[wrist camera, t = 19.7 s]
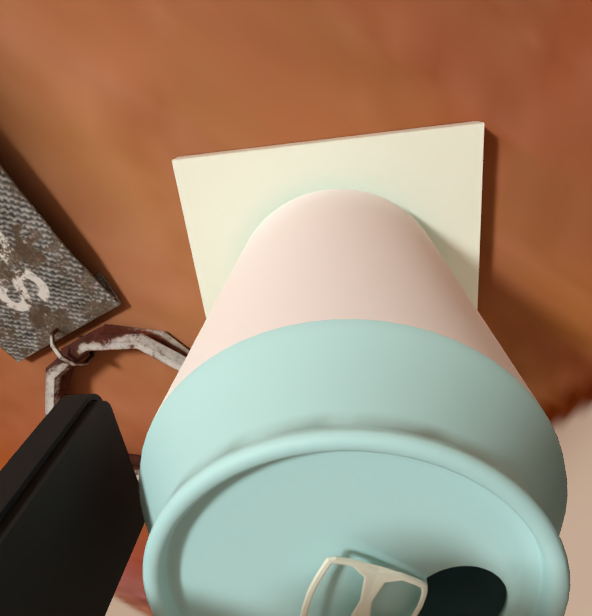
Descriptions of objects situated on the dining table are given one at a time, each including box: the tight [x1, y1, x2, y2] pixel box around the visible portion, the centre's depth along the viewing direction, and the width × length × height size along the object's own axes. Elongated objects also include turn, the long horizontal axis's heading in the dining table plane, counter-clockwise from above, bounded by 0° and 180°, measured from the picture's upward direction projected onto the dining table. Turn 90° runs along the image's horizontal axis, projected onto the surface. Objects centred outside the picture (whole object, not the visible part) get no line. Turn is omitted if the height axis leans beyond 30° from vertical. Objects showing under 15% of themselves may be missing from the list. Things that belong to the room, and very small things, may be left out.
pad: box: [172, 121, 484, 319], centre depth 18 cm, size 10×10×1 cm
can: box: [139, 189, 570, 616], centre depth 12 cm, size 7×7×12 cm
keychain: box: [0, 165, 189, 481], centre depth 19 cm, size 8×19×2 cm, turn 30°
